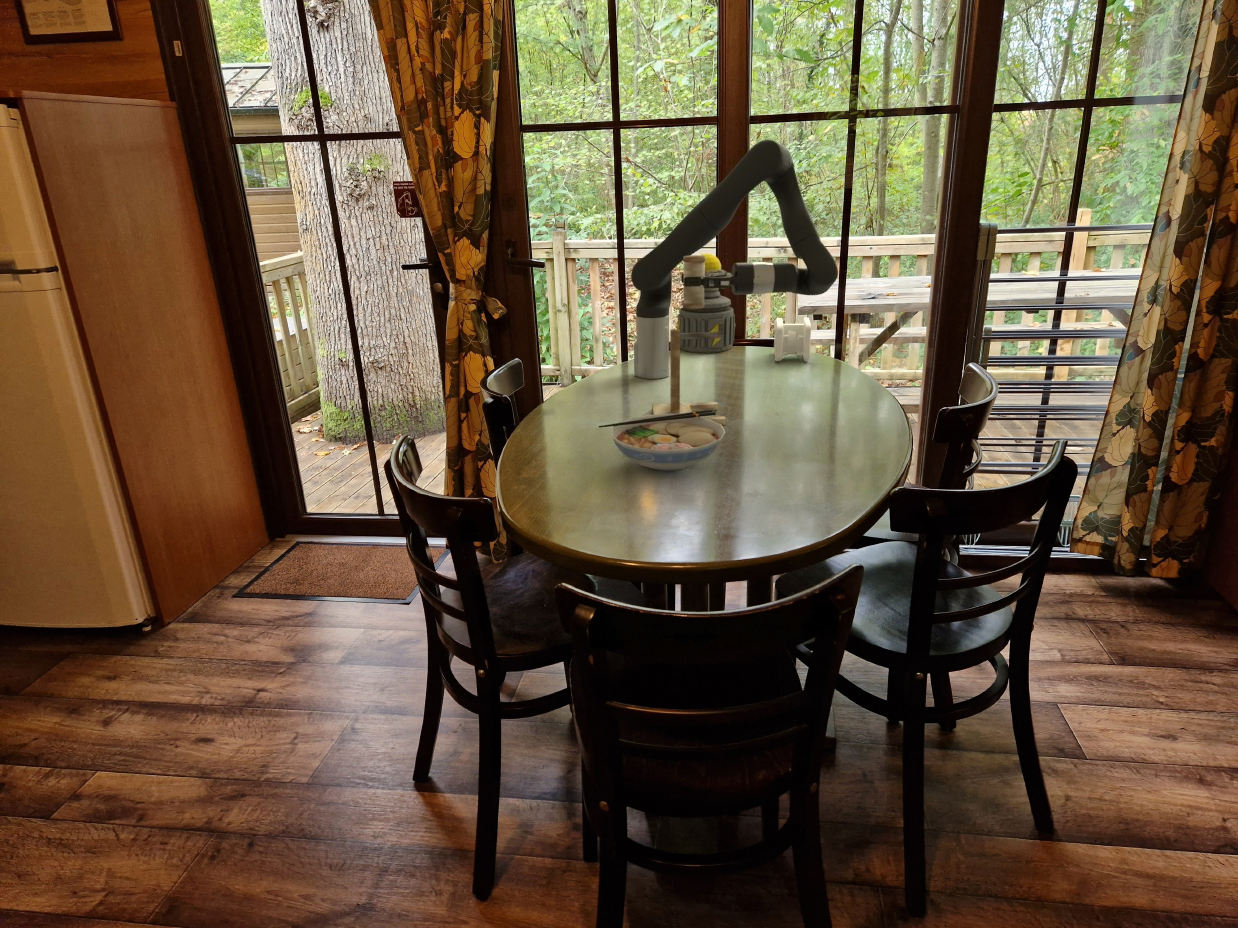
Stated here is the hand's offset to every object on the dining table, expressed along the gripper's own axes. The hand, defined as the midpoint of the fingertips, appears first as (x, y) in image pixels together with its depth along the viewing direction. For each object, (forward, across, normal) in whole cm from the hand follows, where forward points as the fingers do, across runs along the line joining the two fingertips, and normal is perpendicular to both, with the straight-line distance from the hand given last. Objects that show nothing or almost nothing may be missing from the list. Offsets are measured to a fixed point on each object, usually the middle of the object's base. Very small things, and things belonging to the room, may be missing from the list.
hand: (683, 280), depth 190 cm
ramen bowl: (+8, +46, +30) cm, 55 cm away
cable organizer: (-38, -42, +31) cm, 65 cm away
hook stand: (0, +14, +30) cm, 33 cm away
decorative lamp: (-15, -62, +31) cm, 70 cm away
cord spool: (-3, 0, +6) cm, 7 cm away
